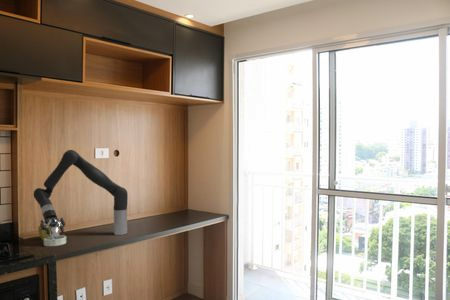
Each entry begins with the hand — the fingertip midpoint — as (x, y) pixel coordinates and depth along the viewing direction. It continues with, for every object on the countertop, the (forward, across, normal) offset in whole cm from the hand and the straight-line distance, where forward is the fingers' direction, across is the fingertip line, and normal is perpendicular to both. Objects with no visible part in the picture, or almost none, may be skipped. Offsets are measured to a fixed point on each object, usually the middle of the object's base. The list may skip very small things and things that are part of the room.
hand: (55, 232), depth 233 cm
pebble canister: (+3, 0, +5) cm, 6 cm away
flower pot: (-9, +1, +19) cm, 21 cm away
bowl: (+4, 0, +6) cm, 7 cm away
